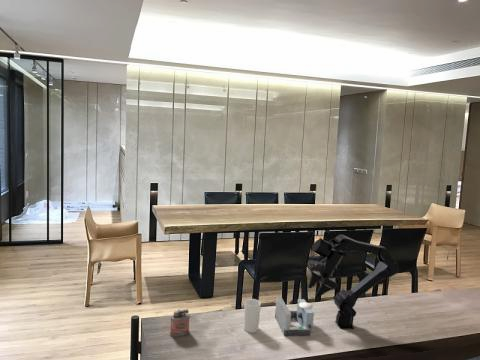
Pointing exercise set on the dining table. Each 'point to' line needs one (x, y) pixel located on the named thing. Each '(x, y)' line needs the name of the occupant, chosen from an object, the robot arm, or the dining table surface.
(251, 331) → the mug
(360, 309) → the dining table surface
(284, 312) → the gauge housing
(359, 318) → the dining table surface
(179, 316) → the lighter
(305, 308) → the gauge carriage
